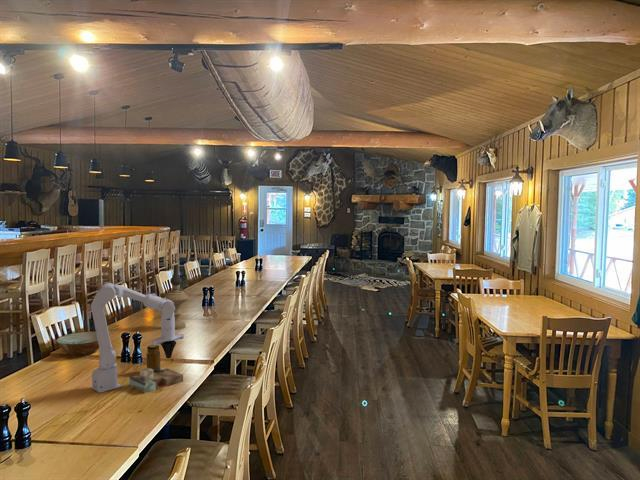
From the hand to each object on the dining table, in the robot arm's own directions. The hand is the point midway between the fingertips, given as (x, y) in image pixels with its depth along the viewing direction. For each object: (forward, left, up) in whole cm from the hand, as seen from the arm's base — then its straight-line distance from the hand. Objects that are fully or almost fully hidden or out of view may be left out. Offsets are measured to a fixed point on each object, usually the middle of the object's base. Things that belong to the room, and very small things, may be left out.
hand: (168, 357), depth 212 cm
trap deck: (-6, 0, -10) cm, 12 cm away
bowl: (-8, +71, -10) cm, 72 cm away
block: (-10, 0, -7) cm, 12 cm away
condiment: (+2, +15, -10) cm, 18 cm away
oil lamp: (+54, +81, -10) cm, 98 cm away
